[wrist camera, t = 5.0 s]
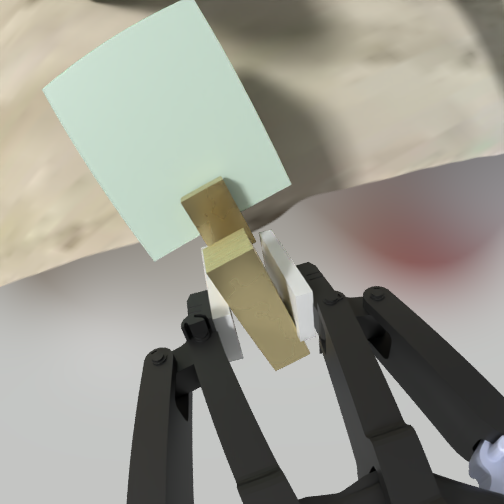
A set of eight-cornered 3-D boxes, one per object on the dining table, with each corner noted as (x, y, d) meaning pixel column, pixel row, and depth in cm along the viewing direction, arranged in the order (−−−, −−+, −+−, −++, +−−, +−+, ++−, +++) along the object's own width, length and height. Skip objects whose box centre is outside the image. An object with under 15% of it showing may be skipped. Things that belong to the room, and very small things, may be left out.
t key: (181, 155, 28) (181, 245, 11) (204, 143, 27) (240, 212, 11) (222, 227, 32) (272, 372, 15) (243, 216, 32) (313, 351, 15)
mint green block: (84, 91, 19) (41, 89, 12) (188, 28, 18) (191, -5, 11) (161, 213, 25) (154, 261, 18) (258, 158, 24) (291, 184, 17)
